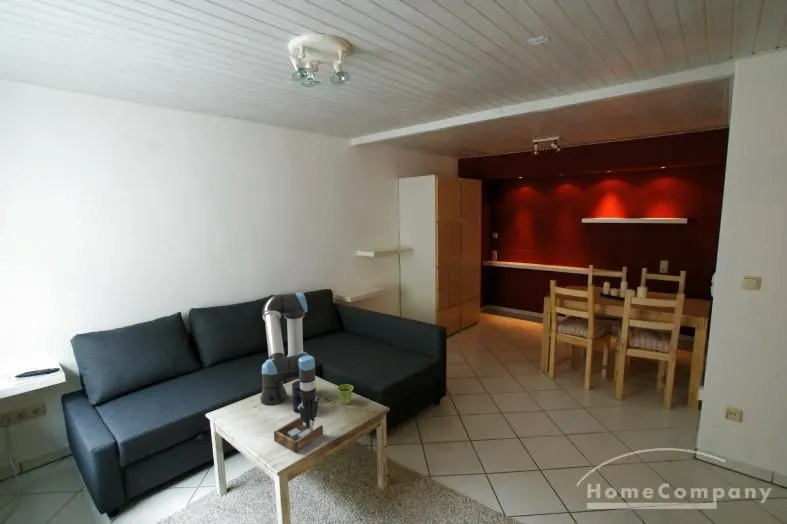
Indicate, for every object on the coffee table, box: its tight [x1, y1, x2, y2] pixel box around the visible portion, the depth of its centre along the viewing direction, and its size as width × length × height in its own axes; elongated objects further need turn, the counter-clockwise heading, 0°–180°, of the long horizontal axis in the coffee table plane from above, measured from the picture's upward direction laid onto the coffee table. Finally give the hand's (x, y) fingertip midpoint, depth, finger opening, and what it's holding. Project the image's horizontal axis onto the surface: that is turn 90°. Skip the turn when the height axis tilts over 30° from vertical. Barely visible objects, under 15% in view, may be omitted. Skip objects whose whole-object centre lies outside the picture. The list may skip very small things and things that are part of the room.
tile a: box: [286, 428, 302, 441], centre depth 184 cm, size 5×5×3 cm
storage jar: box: [291, 379, 304, 414], centre depth 210 cm, size 10×10×15 cm
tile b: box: [297, 429, 310, 440], centre depth 182 cm, size 5×5×3 cm
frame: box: [273, 416, 324, 454], centre depth 183 cm, size 16×17×5 cm
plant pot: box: [336, 383, 354, 405], centre depth 218 cm, size 9×9×9 cm
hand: (310, 433), depth 185 cm, fingers closed
